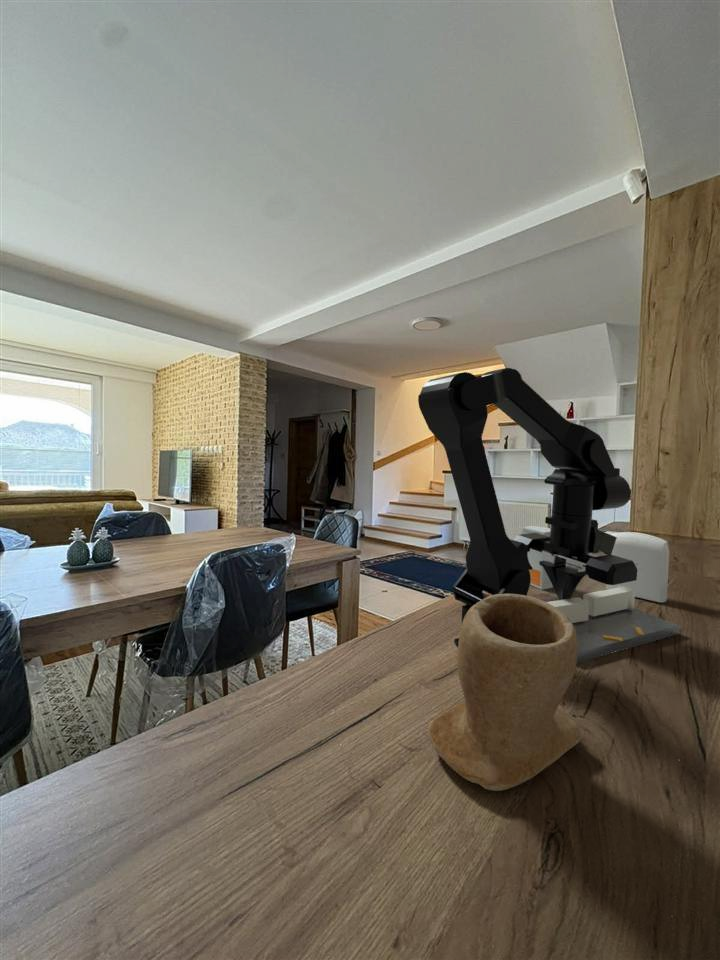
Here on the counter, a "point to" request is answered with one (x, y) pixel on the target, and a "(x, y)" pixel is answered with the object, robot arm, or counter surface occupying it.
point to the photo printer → (644, 564)
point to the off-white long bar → (610, 600)
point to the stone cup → (509, 692)
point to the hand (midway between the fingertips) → (564, 606)
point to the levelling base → (619, 632)
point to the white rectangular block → (573, 608)
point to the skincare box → (537, 560)
